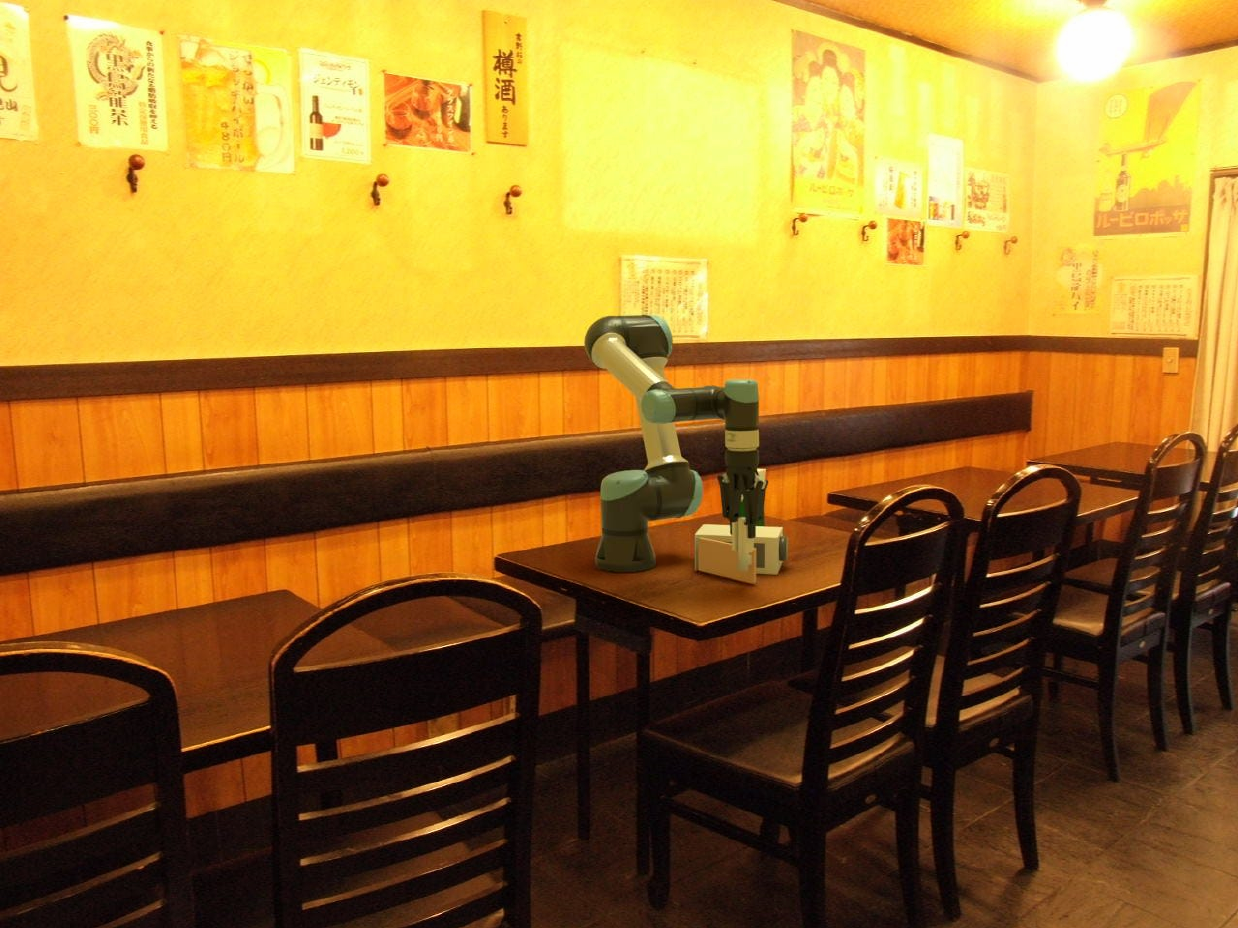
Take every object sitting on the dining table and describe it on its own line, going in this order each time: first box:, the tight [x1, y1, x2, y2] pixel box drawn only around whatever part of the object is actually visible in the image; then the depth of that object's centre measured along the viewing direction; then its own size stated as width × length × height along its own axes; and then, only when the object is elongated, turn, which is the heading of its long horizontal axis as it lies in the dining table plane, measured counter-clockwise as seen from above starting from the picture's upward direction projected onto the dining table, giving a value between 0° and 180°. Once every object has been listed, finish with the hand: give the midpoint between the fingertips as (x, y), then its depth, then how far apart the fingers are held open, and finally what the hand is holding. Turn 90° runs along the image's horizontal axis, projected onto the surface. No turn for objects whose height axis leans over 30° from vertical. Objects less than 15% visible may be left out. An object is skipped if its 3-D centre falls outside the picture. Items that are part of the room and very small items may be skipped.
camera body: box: [694, 523, 789, 576], centre depth 242 cm, size 22×12×9 cm, turn 75°
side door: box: [695, 517, 757, 584], centre depth 230 cm, size 18×5×16 cm, turn 43°
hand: (742, 550), depth 223 cm, fingers open, 3 cm apart
